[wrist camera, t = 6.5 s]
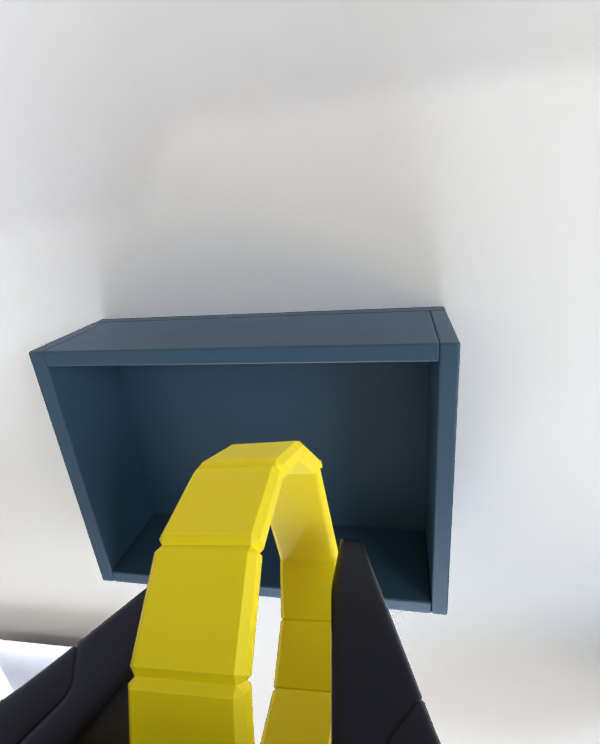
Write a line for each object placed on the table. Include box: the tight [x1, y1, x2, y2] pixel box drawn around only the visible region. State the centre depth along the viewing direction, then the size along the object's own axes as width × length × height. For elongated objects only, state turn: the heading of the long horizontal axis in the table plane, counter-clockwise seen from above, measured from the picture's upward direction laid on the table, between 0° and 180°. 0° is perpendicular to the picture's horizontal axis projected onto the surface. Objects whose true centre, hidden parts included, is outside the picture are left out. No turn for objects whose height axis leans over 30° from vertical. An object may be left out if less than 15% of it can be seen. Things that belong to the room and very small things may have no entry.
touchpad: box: [0, 640, 71, 699], centre depth 31 cm, size 8×15×2 cm, turn 99°
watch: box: [128, 441, 338, 744], centre depth 7 cm, size 6×3×6 cm, turn 11°
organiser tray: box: [29, 307, 460, 615], centre depth 19 cm, size 15×11×5 cm
